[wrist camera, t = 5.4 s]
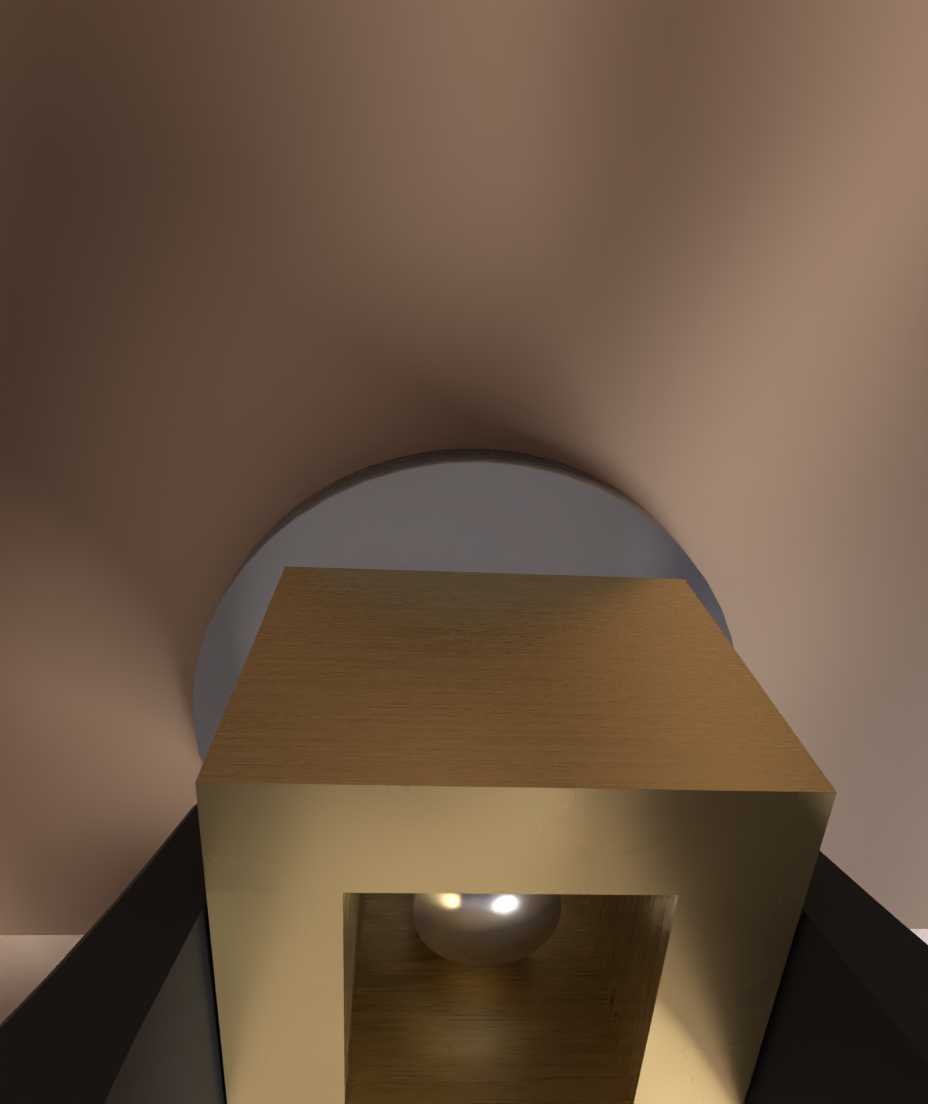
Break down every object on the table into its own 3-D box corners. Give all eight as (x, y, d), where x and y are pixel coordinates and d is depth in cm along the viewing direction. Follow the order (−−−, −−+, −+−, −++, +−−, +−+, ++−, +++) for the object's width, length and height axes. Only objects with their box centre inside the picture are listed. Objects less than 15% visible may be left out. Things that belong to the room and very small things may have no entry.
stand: (763, 457, 11) (949, 580, 7) (678, 888, 14) (776, 1141, 10) (184, 438, 10) (43, 561, 7) (225, 891, 14) (146, 1156, 10)
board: (1515, -330, 9) (1591, -369, 8) (1008, 902, 15) (1030, 927, 15) (-428, -534, 7) (-497, -595, 7) (-44, 907, 14) (-63, 934, 14)
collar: (684, 578, 10) (837, 791, 6) (630, 878, 12) (722, 1176, 8) (284, 566, 10) (195, 782, 6) (297, 875, 12) (235, 1183, 8)
